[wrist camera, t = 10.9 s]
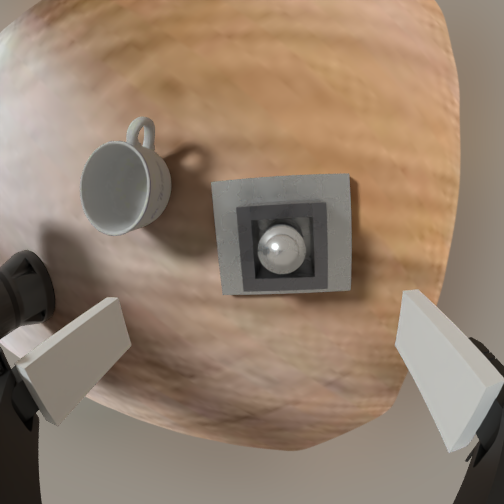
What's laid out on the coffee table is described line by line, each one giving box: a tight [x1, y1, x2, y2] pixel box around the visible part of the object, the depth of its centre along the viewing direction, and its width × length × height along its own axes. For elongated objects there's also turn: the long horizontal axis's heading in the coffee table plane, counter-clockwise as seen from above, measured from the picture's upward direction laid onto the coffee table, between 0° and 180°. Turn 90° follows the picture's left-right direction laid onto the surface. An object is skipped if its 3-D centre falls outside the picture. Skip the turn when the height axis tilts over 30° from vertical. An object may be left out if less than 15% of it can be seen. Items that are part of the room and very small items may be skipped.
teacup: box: [80, 117, 171, 236], centre depth 30 cm, size 14×11×8 cm
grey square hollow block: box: [236, 199, 328, 292], centre depth 29 cm, size 8×8×6 cm
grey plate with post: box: [211, 174, 352, 295], centre depth 29 cm, size 16×14×10 cm
